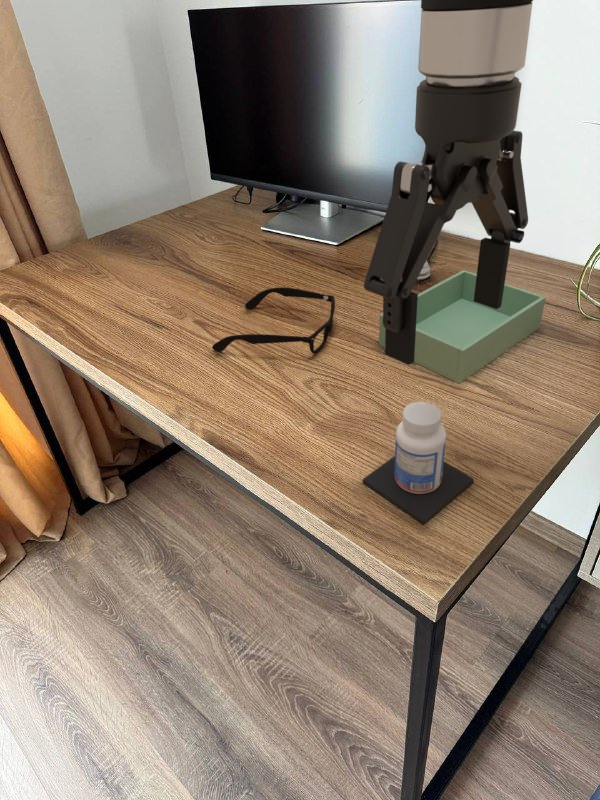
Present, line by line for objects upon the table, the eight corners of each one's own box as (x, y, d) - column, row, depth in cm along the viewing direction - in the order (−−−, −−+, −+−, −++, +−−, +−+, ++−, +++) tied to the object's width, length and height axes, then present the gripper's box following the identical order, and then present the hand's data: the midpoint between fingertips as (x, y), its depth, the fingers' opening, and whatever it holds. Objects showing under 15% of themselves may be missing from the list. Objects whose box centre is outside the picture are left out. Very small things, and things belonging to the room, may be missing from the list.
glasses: (316, 371, 89) (317, 343, 86) (209, 353, 93) (206, 326, 90) (342, 318, 101) (343, 292, 98) (247, 305, 106) (245, 280, 103)
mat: (473, 482, 67) (474, 479, 67) (423, 525, 63) (424, 521, 62) (412, 446, 73) (412, 442, 73) (362, 483, 68) (362, 479, 68)
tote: (539, 328, 94) (546, 296, 90) (459, 383, 83) (463, 350, 80) (460, 298, 103) (463, 269, 100) (378, 345, 92) (379, 314, 89)
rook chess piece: (406, 270, 113) (408, 230, 109) (429, 270, 113) (432, 230, 108) (406, 281, 110) (408, 240, 105) (430, 281, 109) (433, 239, 104)
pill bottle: (412, 456, 71) (417, 390, 65) (450, 477, 67) (459, 410, 62) (384, 480, 68) (386, 413, 62) (422, 503, 64) (428, 435, 59)
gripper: (516, 52, 52) (487, 275, 64) (310, 101, 39) (324, 368, 52) (600, 55, 47) (551, 295, 60) (397, 112, 34) (389, 402, 47)
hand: (445, 329), depth 56 cm, fingers open, 13 cm apart
